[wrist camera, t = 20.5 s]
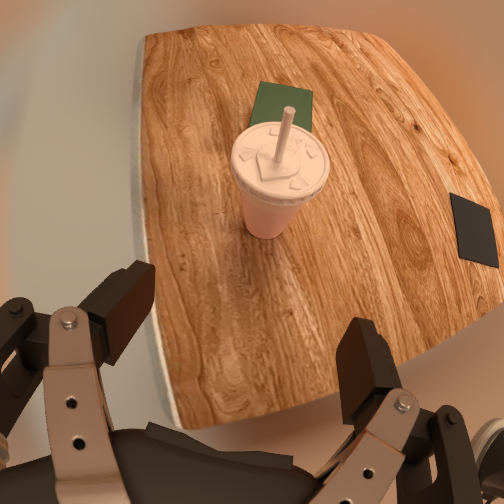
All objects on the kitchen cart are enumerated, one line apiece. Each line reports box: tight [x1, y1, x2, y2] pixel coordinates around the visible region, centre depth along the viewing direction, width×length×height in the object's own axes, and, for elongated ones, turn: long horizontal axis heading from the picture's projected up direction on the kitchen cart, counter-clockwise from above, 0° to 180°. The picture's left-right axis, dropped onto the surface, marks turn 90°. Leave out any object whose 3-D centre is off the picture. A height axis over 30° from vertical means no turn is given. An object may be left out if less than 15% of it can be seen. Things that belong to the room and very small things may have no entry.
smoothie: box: [231, 106, 330, 239], centre depth 19 cm, size 6×6×14 cm
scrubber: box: [248, 81, 313, 133], centre depth 28 cm, size 9×6×4 cm, turn 171°
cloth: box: [449, 193, 499, 268], centre depth 28 cm, size 9×9×1 cm
